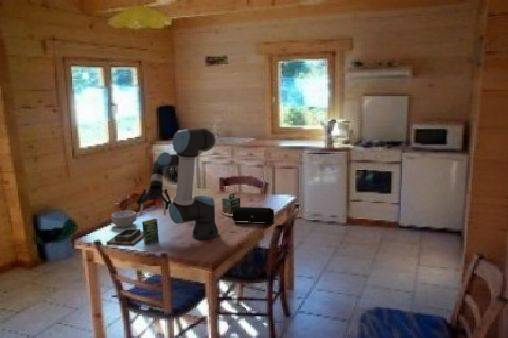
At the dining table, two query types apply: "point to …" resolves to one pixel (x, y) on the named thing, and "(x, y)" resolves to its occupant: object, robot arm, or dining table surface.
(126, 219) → the paper bowls
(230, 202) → the green lantern
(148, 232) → the coffee box
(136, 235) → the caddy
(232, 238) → the dining table surface
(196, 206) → the robot arm
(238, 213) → the portable speaker
